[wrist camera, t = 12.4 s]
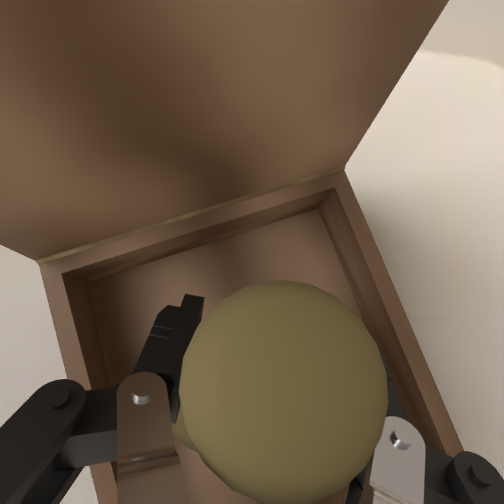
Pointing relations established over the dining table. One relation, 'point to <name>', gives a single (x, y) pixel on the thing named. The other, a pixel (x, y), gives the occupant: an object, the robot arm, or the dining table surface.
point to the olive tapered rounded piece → (282, 393)
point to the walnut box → (223, 285)
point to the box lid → (182, 106)
